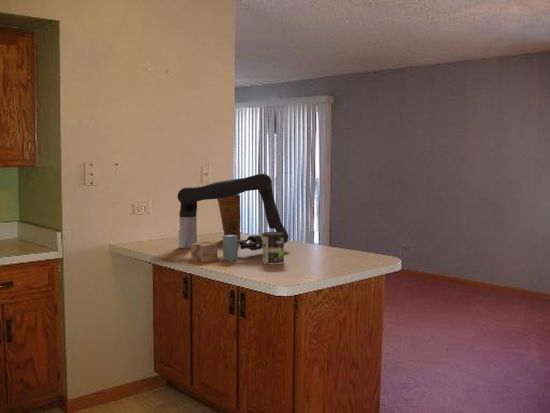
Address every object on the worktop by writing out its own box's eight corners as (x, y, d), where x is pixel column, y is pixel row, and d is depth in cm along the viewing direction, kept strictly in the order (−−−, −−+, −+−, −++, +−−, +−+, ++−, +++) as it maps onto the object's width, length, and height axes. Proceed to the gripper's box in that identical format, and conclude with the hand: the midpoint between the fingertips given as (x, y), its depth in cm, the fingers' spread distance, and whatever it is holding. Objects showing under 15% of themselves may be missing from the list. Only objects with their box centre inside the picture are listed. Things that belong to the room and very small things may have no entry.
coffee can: (288, 261, 271) (288, 232, 270) (276, 265, 263) (276, 235, 261) (270, 259, 277) (269, 231, 275) (258, 263, 268) (258, 233, 267)
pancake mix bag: (236, 243, 328) (235, 194, 325) (216, 239, 342) (215, 193, 339) (245, 242, 332) (244, 194, 329) (225, 238, 346) (224, 192, 343)
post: (223, 260, 276) (222, 235, 275) (230, 258, 280) (230, 234, 279) (230, 261, 273) (230, 236, 272) (237, 259, 277) (237, 235, 275)
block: (191, 259, 277) (190, 243, 276) (205, 257, 283) (205, 241, 283) (203, 262, 271) (203, 245, 270) (217, 259, 277) (217, 243, 277)
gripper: (247, 233, 294) (224, 237, 282) (267, 236, 285) (245, 239, 273) (247, 247, 295) (224, 251, 283) (267, 250, 286) (245, 255, 274)
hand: (234, 246), depth 278 cm, fingers open, 8 cm apart
